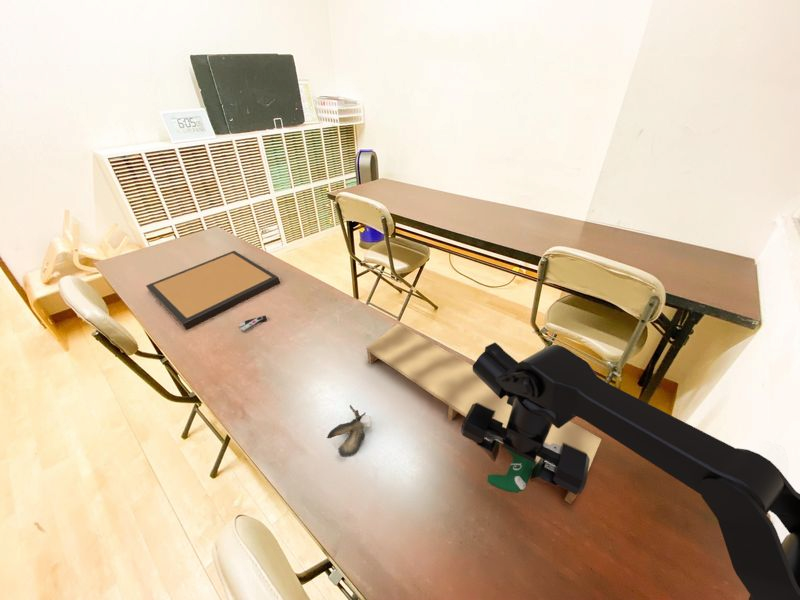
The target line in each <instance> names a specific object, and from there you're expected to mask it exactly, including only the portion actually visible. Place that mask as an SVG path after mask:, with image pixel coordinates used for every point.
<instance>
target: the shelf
mask: <svg viewBox="0 0 800 600" xmlns="http://www.w3.org/2000/svg"><path fill="white" fill-rule="evenodd" d="M366 350H367V351H366V353H367V361H368V363H369V364H370V365H372V364H374V363H375V362H376V361H377V360H378V359H379V360H380V361H382V362H383V363H385V364H387V365H388V366H390V367H391V368H392V369H393V370H395V371H396V372H398V373H400V374H401V375H403V376H404V377H406V378H407V379H408V380H410V381H411V382H412V383H414V384H416V385H417V386H418V387H420V388H421V389H423V390H424V391H426V392H428V393H429V394H431V395H432V396H434V397H435V398H437V399H438V400H439V401H441V402H442V403H444V404H445V405H447V406H448V410H447V419H449V420H450V421H453V419H455V417H456V416H457V415H458V414H460V415H461V416H463V417H464V418H466V416H467V414H468V412H469V410H470V408H471V406H472V404H475V403H477V402H478V403H480V404H482V405H484V406H487V407H489V408H491V409H493V410H495V411H496V412H495V415H494V417H493V419H496V420H498V421H500V422H502V423H503V427H504V428H506V427H507V423H508V420H509V416H510V413H511V410H512V406H511V405H509V404H507V400H508V396H507V395H506V396H504V397H503V398H502V399H500V398H499V397H498V396H497V395H496V394H495V393H494V392H493V391H492V390H491V389H490V388H489V387H488V386H487V385H486V384H485V383H484V382H483V381H482V380H481V379H480V378H479V377H478V376H477V375H476V374H475V373H474V372H473V364H470V363H468V362H467V361H465V360H464V359H462V358H460V357H458V356H456V355H455V354H452V353H451V352H450V351H447V350H445V349H443V348H442V347H440V346H439V345H436V344H435V343H433V342H431V341H430V340H428V339H426V338H424V337H422V336H421V335H419V334H418V333H415V332H414V331H412V330H410V329H408V328H407V327H405V326H403V325H402V324H400V323H397V324H395V325H394V326H393V327H391V328H390V329H389V330H387V331H386V332H385V333H383V334H382V335H381V336H380V337H378V338H377V339H376V340H374V341H373V342H371V343H370V344H369V345H367V346H366ZM563 442H564V443H567V444H569V445H571V446H573V447H575V448H577V449H579V450H582V451H584V452H586V453H587V455H588V457H589V459H590V462H589V468H588V472H589V471H590V468H591V465H592V463H593V461H594V458H595V456H596V453H597V451H598V449H599V446H600V444H601V442H602V438H600V437H599V436H597V435H595V434H593V433H592V432H590V431H588V430H586V428H585V429H584V428H583V427H581V426H579V425H578V424H575V423H574V422H572V421H571V420H570V421H569V422H567V423H566V424H565V425H563V426H562V427H560V428H556V427H555V426H554V425H553V424H552V426H551V429H550V431H549V433H548V436H547V438H546V440H545V443H547V444H549V445H551V444H552V443H555V444H557V445H559V446H561V445H562V443H563ZM536 457H537V460H536V464H537V463H538V461H539V460H540V457H538V456H536ZM536 464H535V465H536ZM577 496H578V494H577V495H575V494H574V493H572V492H570V491H568V490H567V492H566V495H565V497H564V501H566V502H567V503H568V504H569V505H572V503H573V502H574V500H576V497H577Z"/></svg>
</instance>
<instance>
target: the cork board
mask: <svg viewBox="0 0 800 600" xmlns="http://www.w3.org/2000/svg"><path fill="white" fill-rule="evenodd" d="M279 284H281V281H280V278H279V276H277V275H276V274H274V273H272V272H270V271H269V270H268V269H266V268H264V267H262V266H261V265H259V264H257V263H256V262H254V261H252V260H251V259H250V258H248V257H245V256H244V255H242V254H241V253H239V252H237V251H236V250H233V251H230V252H227V253H224V254H222V255H220V256H217V257H214V258H212V259H210V260H206V261H205V262H202V263H199V264H197V265H194V266H192V267H189V268H187V269H185V270H182V271H179V272H177V273H174V274H172V275H169V276H166V277H164V278H162V279H159V280H157V281H154V282H151V283H149V284H146V285H145V287H146V288H147V291H148V292H149V293H150V294H151V295H152V296H153V297H154V298H155V299H156V300H157V301H158V302H159V304H160V305H161V306H162V307H163V308H164V309H165V310H166V311H167V312H168V313H169V315H171V316H172V317H173V318H174V319H175V320H176V321H177V323H179V324H180V325H181V326H182V328H184V330H186V331H189V330H190V329H192V328H195V327H196V326H198V325H200V324H203V323H204V322H206V321H209V320H210V319H212V318H214V317H216V316H218V315H220V314H222V313H224V312H226V311H228V310H229V309H232V308H234V307H235V306H238V305H239V304H242V303H243V302H246V301H248V300H250V299H251V298H253V297H256V296H257V295H259V294H261V293H264V292H265V291H267V290H269V289H272V288H273V287H275V286H278V285H279Z"/></svg>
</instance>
